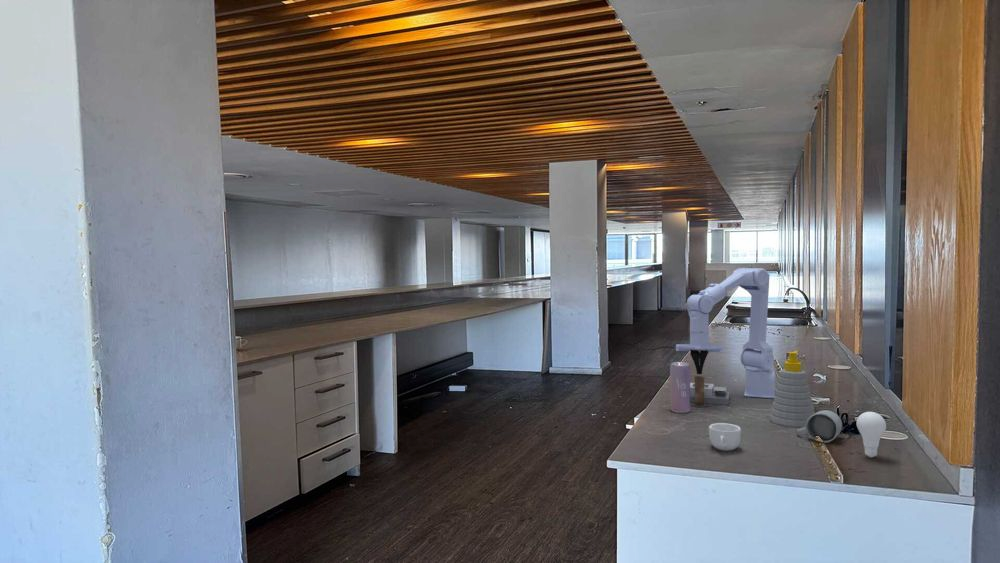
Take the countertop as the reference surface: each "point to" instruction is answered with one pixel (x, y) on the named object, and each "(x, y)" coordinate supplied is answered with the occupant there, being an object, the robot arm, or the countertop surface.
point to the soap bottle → (792, 395)
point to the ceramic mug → (822, 426)
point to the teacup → (724, 436)
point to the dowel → (699, 390)
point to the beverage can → (680, 387)
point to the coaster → (699, 406)
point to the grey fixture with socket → (711, 395)
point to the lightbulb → (871, 431)
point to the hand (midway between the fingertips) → (699, 373)
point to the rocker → (720, 389)
